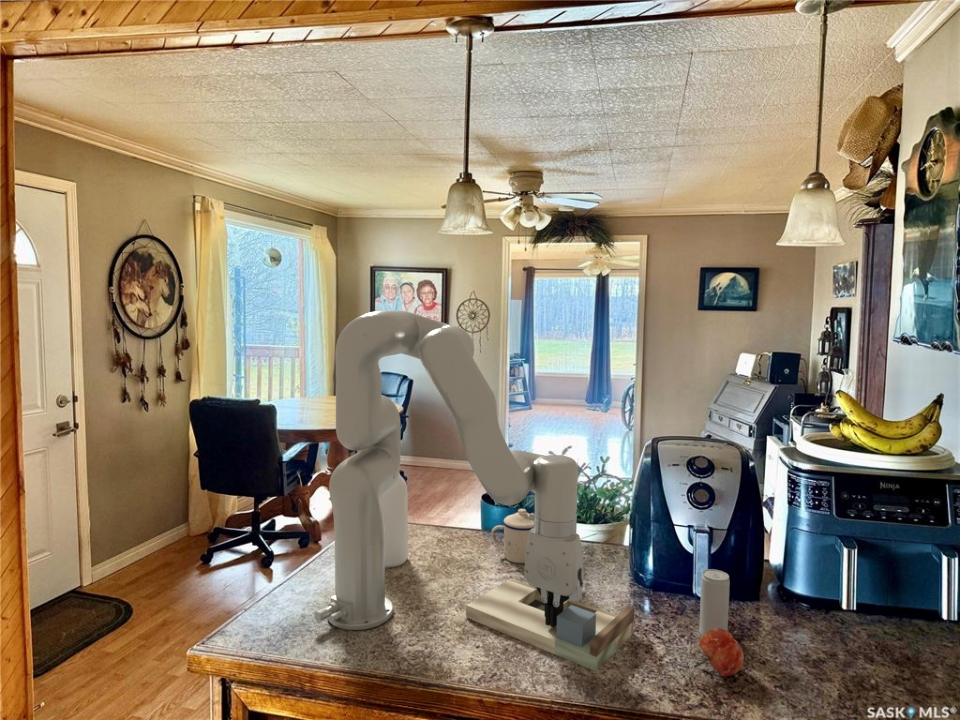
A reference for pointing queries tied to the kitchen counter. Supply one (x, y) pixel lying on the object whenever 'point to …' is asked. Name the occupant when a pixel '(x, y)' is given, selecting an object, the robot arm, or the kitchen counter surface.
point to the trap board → (524, 619)
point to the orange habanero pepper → (722, 651)
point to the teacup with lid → (515, 535)
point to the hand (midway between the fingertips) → (553, 623)
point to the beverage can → (714, 600)
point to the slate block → (576, 626)
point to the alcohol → (395, 523)
